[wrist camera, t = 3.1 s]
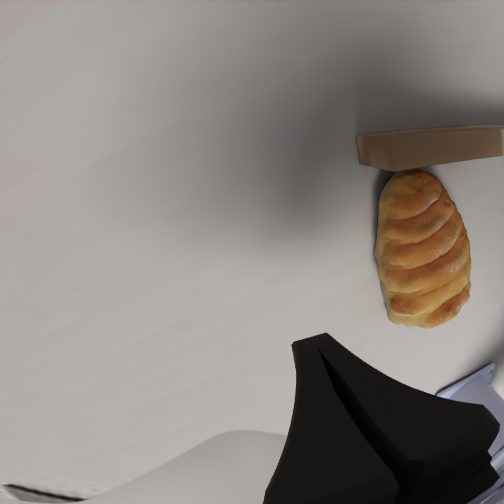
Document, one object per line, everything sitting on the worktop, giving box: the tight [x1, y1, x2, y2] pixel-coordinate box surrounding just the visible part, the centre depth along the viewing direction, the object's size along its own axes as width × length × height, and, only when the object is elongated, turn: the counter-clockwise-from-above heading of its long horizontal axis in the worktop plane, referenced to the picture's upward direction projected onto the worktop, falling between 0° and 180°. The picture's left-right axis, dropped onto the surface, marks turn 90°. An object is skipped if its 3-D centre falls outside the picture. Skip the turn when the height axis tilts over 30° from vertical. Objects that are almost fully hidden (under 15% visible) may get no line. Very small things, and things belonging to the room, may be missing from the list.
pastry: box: [374, 168, 471, 328], centre depth 16 cm, size 9×7×4 cm
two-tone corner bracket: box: [356, 125, 504, 172], centre depth 17 cm, size 14×20×4 cm
